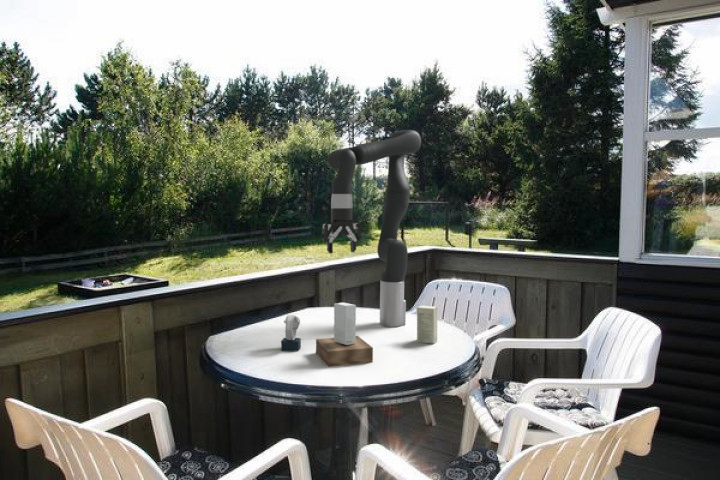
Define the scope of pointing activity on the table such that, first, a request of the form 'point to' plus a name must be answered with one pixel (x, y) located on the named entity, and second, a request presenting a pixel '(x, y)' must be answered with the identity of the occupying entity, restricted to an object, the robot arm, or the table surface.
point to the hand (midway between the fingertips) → (341, 252)
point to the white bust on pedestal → (291, 334)
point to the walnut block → (343, 352)
